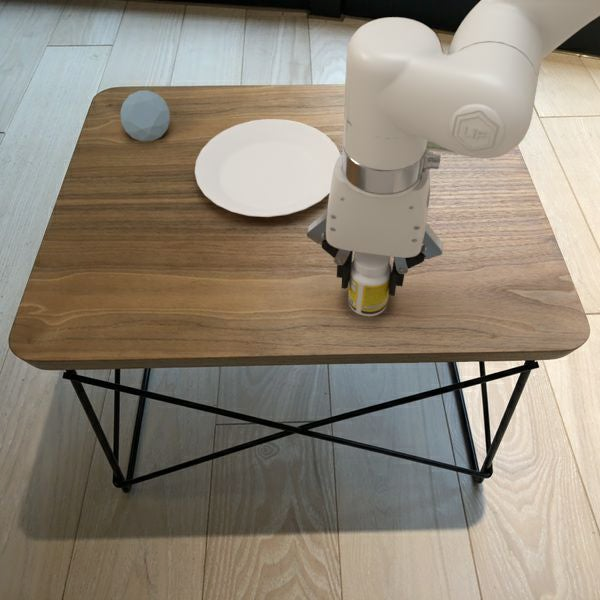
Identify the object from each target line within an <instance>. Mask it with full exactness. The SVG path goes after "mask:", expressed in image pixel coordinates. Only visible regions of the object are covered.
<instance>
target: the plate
mask: <svg viewBox="0 0 600 600" xmlns="http://www.w3.org/2000/svg"><path fill="white" fill-rule="evenodd" d="M341 154H342V153H341V152H340V149H339V148H338V146H337V144H336V143H335V142H334V141H333V140H332V139H331V138H330V137H329V136H328V135H327V134H325V133H324V132H322V131H321V130H319V129H318V128H316V127H313V126H310V125H309V124H306V123H304V122H299V121H294V120H290V119H283V118H265V119H264V118H263V119H256V120H250V121H246V122H242V123H239V124H236V125H233V126H231V127H228V128H226V129H224V130H222V131H221V132H219V133H218V134H216V135H214V137H212V138H210V139H209V140H208V142H207V143H206V144H205V145H204V147H202V148H201V150H200V152H199V154H198V156H197V158H196V159H195V166H194V177H195V180H196V184H197V186H198V187H199V189H200V190H201V192H202V193H203V195H204V196H205V197H206V198H208V200H209V201H211V202H212V203H213V204H215V205H216V206H218V207H220V208H222V209H224V210H227V211H229V212H231V213H235V214H238V215H243V216H247V217H259V218H260V217H261V218H272V217H281V216H287V215H292V214H295V213H297V212H301V211H305V210H307V209H309V208H310V207H312V206H314V205H316V204H318V203H320V202H321V201H322V200H323V199H325V198H326V197H327V196H329V193H330V187H331V180H332V175H333V171H334V167H335V164H336V161H337V158H338V157H339V156H340V155H341Z"/></svg>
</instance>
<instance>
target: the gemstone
mask: <svg viewBox="0 0 600 600" xmlns="http://www.w3.org/2000/svg"><path fill="white" fill-rule="evenodd" d="M119 114H120V115H119V116H120V123H121V126H122V127H123V129H124V131H125V133H127V135H129V136H130V137H131V138H132V139H133V140H137V141H139V142H153V141H156V140H158V139H160V138H162V136H163V135H164V134H165V133H166V132H167V130H168V128H169V125H170V123H171V122H170V121H171V114H170V109H169V106H168V104H167V102H166V100H165V99H164V98H163V97H161V95H160V94H158V93H156V92H154V91H151V90H137V91H135V92H132V93H131V94H129V95H128V96H127V97H126V99H125V100H123V102H122V104H121V109H120V112H119Z"/></svg>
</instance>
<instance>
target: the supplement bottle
mask: <svg viewBox="0 0 600 600" xmlns="http://www.w3.org/2000/svg"><path fill="white" fill-rule="evenodd" d="M392 268H393V267H392V265H391V256H385V255H377V254H370V253H363V252H356V251H354V255H353V259H352V263H351V266H350V276H349V284H348V297H347V301H348V305H349V307H350V309H351V310H352V311H353V312H354V313H356V314H358V315H360V316H362V317H375V316H378V315H380V314H382V313H383V312H384V311H385V310H386V308H387V307H388V302H389V296H390V294H389V288H390V281H391V274H392Z"/></svg>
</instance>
